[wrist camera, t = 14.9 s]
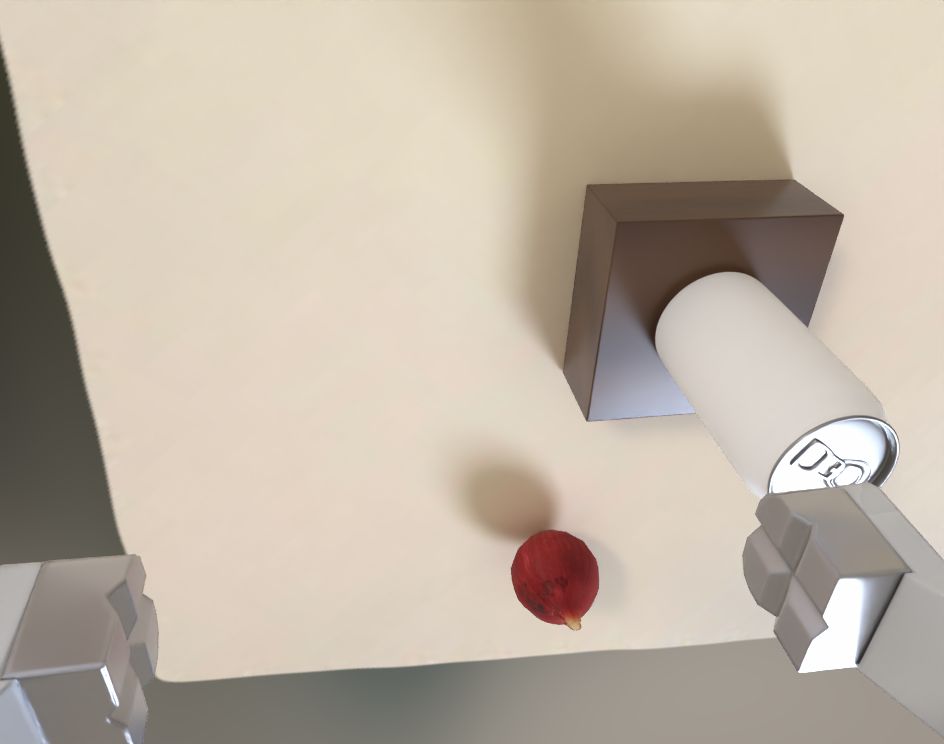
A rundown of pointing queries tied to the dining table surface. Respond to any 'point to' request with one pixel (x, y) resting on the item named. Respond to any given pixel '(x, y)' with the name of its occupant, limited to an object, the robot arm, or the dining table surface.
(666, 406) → the brown square block
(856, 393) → the can
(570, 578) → the onion
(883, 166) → the dining table surface
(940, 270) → the dining table surface
